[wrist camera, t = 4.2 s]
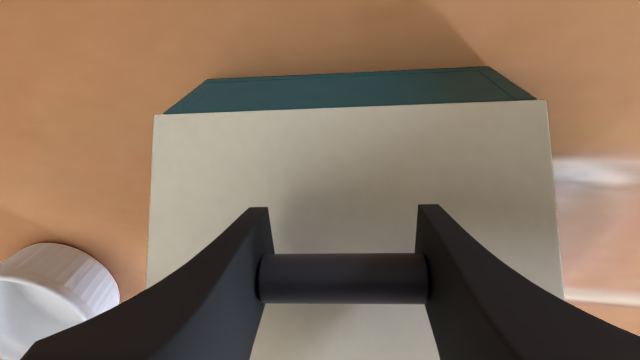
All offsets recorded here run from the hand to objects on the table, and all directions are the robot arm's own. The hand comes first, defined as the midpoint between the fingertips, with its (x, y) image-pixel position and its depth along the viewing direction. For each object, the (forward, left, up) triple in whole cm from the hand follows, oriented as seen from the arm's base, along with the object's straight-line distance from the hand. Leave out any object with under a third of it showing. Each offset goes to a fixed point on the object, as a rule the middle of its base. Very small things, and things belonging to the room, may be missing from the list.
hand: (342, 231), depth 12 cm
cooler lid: (-2, 0, -1) cm, 2 cm away
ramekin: (-16, +18, -10) cm, 26 cm away
